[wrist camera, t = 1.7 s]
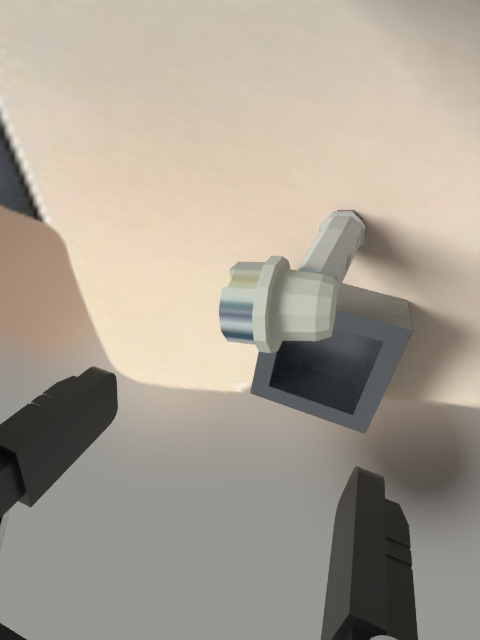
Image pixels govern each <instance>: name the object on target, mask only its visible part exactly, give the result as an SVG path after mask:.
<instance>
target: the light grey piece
mask: <svg viewBox="0 0 480 640" xmlns="http://www.w3.org/2000/svg"><path fill="white" fill-rule="evenodd" d="M364 235H365V224H364V223H363V220H362V219H361V218H360V217H359V216H358V215H357V214H356V213H355V212H354V211H353V210H338V211H337V212H333V213H332V214H331V215H330V216H329V217H328V218H327V219H326V220H325V221H324V222H323V223H322V224H321V225H320V233H319V235H318V236H317V238H316V239H315V241H314V243H313V244H312V246H311V247H310V249H309V251H308V252H307V254H306V255H305V257H304V259H303V260H302V262H301V263H300V265H299V267H298V268H297V270H290V265H289V261H288V260H287V259H285V258H284V257H283V256H271V257H270V258H269V259H268V260H267V261H266V262H238V263H237V264H235V265H234V266H233V267H232V268H231V269H230V277H232V279H231V281H230V284H229V286H228V288H226V287H222V293H221V300H220V307H219V316H220V325H221V332H222V333H223V335H224V336H225V338H226V339H227V341H229V342H238V343H246V344H255V345H256V346H257V348H258V350H259V352H265V353H273V352H276V351H278V350H279V348H280V346H281V344H282V342H283V341H319V340H322V339H325V338H329V337H331V336H332V332H333V327H334V320H335V312H336V302H337V293H338V290H339V288H340V286H341V284H342V282H343V279H344V277H345V275H346V273H347V271H348V269H349V266H350V264H351V262H352V260H353V258H354V255H355V253H356V251H357V250H358V249H359V248H360V247H361V246H362V245H363V244H364Z"/></svg>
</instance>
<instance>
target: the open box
mask: <svg viewBox="0 0 480 640" xmlns="http://www.w3.org/2000/svg"><path fill="white" fill-rule="evenodd" d="M412 331H413V329H412V323H411V318H410V312H409V307H408V302H407V300H404V299H400V298H396V297H392V296H389V295H385V294H381V293H377V292H373V291H369V290H366V289H362V288H358V287H354V286H350V285H346V284H341V286H340V288H339V290H338V293H337V302H336V312H335V320H334V327H333V332H332V336H331V337H329V338H325V339H322V340H319V341H283V342H282V344H281V346H280V348H279V350H278V351H276V352H273V353H265V352H259V354H258V359H257V363H256V368H255V373H254V378H253V383H252V388H251V393H252V394H254V395H257V396H260V397H263V398H266V399H268V400H271V401H274V402H277V403H280V404H282V405H285V406H288V407H291V408H294V409H297V410H299V411H302V412H305V413H308V414H311V415H314V416H316V417H319V418H322V419H325V420H328V421H330V422H333V423H336V424H339V425H342V426H344V427H347V428H350V429H353V430H356V431H359V432H361V433H364V434H365V433H366V431H367V429H368V427H369V425H370V423H371V420H372V418H373V416H374V414H375V412H376V409H377V407H378V405H379V403H380V401H381V399H382V397H383V394H384V392H385V390H386V388H387V386H388V384H389V381H390V379H391V377H392V375H393V373H394V371H395V368H396V366H397V364H398V362H399V360H400V358H401V355H402V353H403V351H404V349H405V347H406V344H407V342H408V340H409V338H410V336H411V334H412Z"/></svg>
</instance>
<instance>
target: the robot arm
mask: <svg viewBox="0 0 480 640" xmlns="http://www.w3.org/2000/svg"><path fill="white" fill-rule="evenodd" d="M117 409H118V403H117V381H116V376H115V375H114V374H113V373H111V372H108V371H105V370H103V369H99V368H97V367H91V368H89V369H88V370H86V371H85V372H84V373H82V374H81V375H80V376H78V377H76V376H72V377H70V378H67V379H65V380H62V381H60V382H57V383H56V384H54V385H53V386H52V387H50V388H49V389H48V390H46V391H45V392H44V393H43V394H42V395H40V396H38V397H37V398H36V399H34V400H33V401H32V402H31V404H27V405H26V406H25V407H23V408H22V409H21V410H19V411H18V412H17V413H15V414H14V415H13V416H11V417H10V418H9V419H7V420H6V421H5V422H3V423H2V424H1V425H0V550H1V545H2V542H3V538H4V534H5V530H6V526H7V522H8V518H9V509H10V508H11V507H12V506H13V505H14V504H15V503H16V502H17V501H19V502H21V503H23V504H25V505H27V506H29V507H32V506H33V505H34V504H35V503H36V502H37V500H38V499H39V498H40V497H41V496H42V495H43V494H44V493H45V492H46V491H47V490H48V489H49V488H50V487H51V486H52V485H53V484H54V483H55V482H56V481H57V480H58V478H59V477H60V476H61V475H62V474H63V473H64V472H65V471H66V470H67V469H68V468H69V467H70V466H71V465H72V464H73V463H74V462H75V461H76V460H77V459H78V458H79V457H80V455H81V454H82V453H83V452H84V451H85V450H86V449H87V448H88V447H89V446H90V445H91V444H92V443H93V442H94V441H95V440H96V439H97V438H98V437H99V436H100V435H101V433H102V432H103V431H104V430H105V429H106V428H107V427H108V426H109V425H110V424H111V423H112V421H113V420H114V418H115V416H116V413H117ZM384 483H385V482H384V477H383V476H381V475H378V474H376V473H373V472H370V471H368V470H365V469H362V468H360V467H357V466H356V467H355V468H354V470H353V472H352V474H351V476H350V478H349V480H348V483H347V485H346V487H345V489H344V491H343V493H342V496H341V498H340V500H339V503H338V507H337V511H336V516H335V523H334V531H333V540H332V548H331V557H330V566H329V574H328V583H327V592H326V601H325V609H324V617H323V626H322V635H321V640H418V635H417V622H416V609H415V597H414V585H413V572H412V569H411V566H412V559H411V551H410V535H409V525H408V523H407V520H406V518H405V516H404V514H403V511H402V509H401V507H400V505H399V504H398V503H395V502H392V501H390V500H387V499H385V484H384ZM0 640H26V639H25V638H23V637H21V636H20V635H18V634H17V633H15V632H14V631H12V630H10V629H9V628H7V627H6V626H4V625H2V624H1V623H0Z"/></svg>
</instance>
